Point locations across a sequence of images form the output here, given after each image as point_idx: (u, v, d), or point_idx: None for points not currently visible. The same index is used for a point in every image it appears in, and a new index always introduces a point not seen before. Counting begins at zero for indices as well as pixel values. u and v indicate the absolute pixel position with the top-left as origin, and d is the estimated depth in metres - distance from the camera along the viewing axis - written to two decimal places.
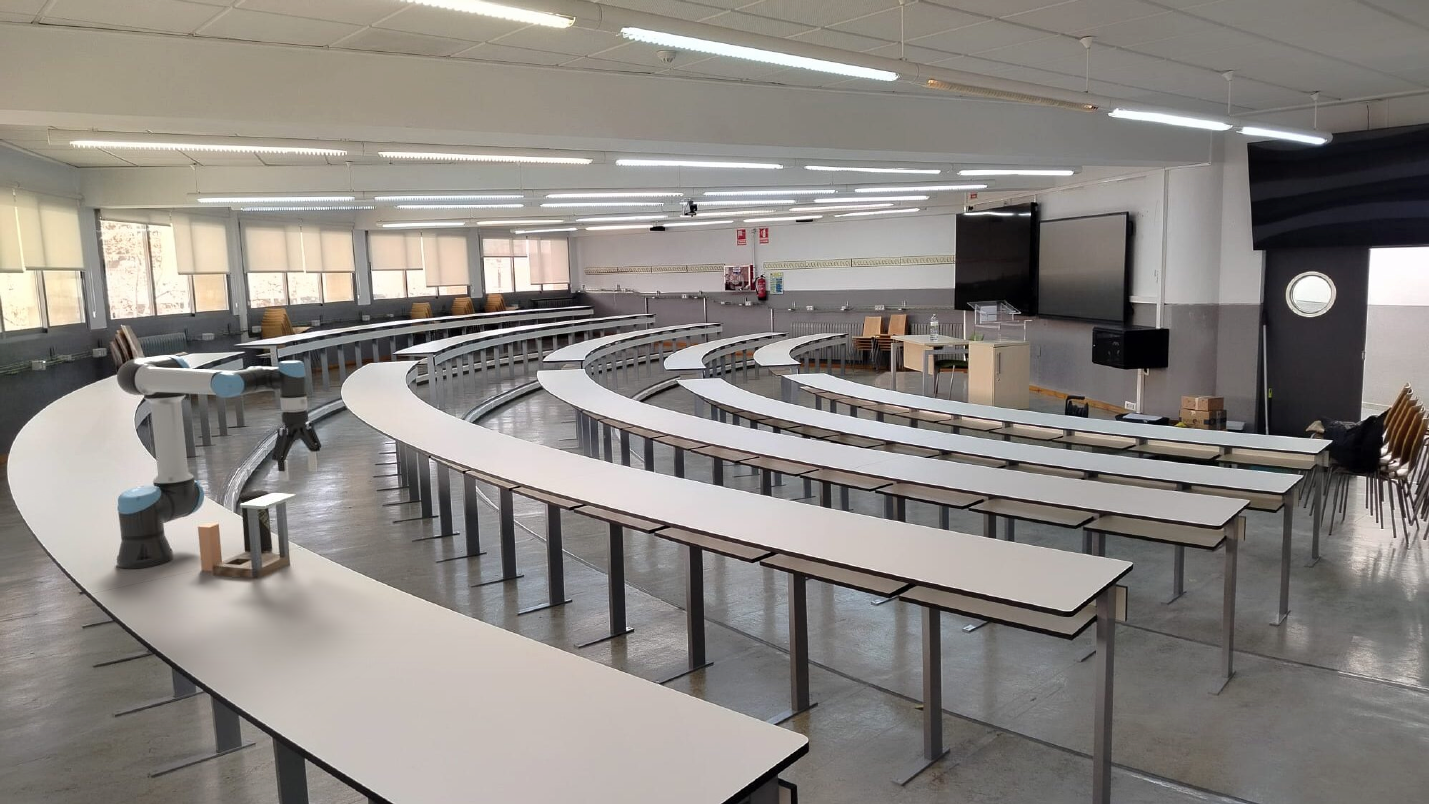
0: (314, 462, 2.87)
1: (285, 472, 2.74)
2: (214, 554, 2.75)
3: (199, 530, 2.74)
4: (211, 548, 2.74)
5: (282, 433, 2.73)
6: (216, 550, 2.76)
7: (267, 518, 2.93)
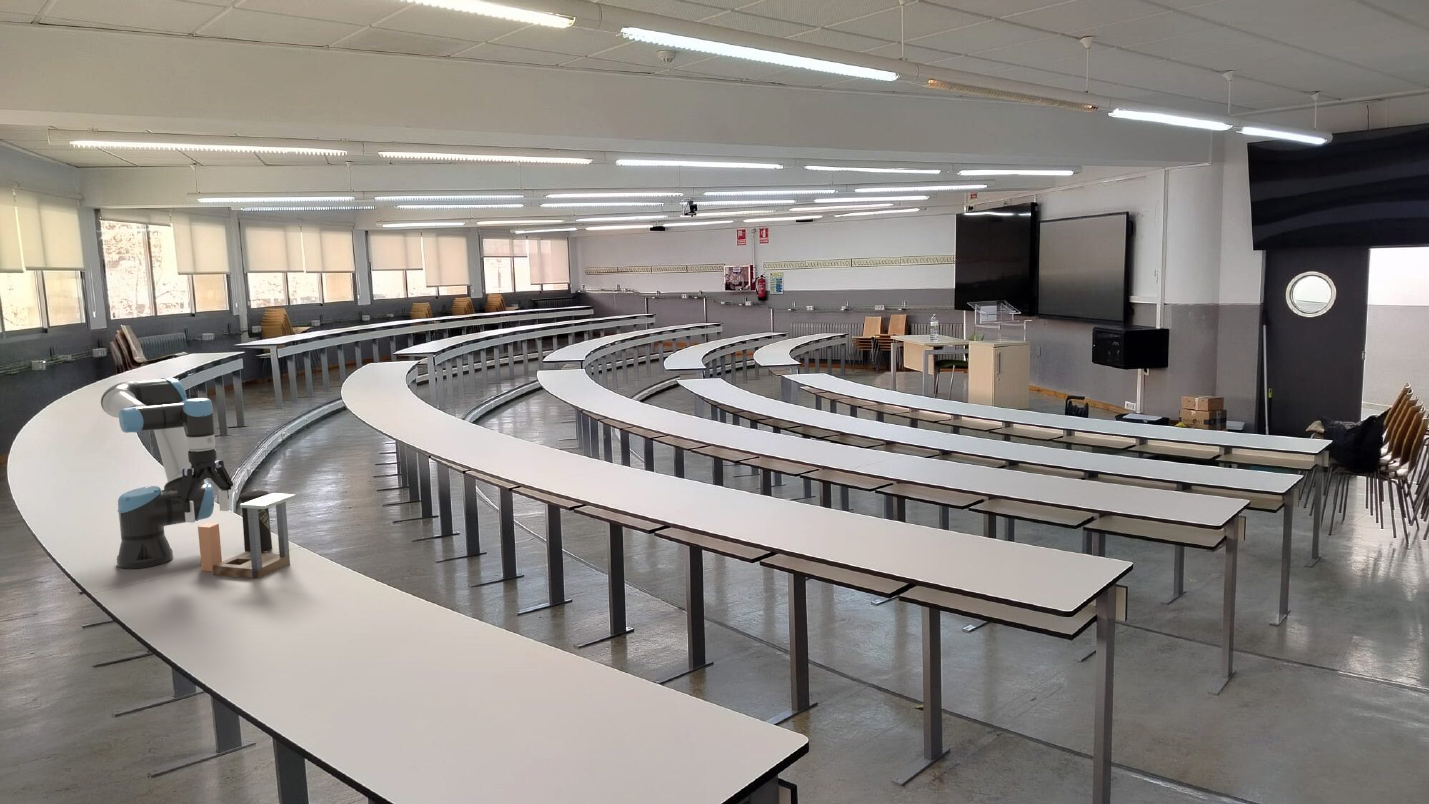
0: (225, 501, 2.80)
1: (191, 513, 2.67)
2: (214, 554, 2.75)
3: (199, 530, 2.74)
4: (211, 548, 2.74)
5: (187, 473, 2.66)
6: (216, 550, 2.76)
7: (267, 518, 2.93)
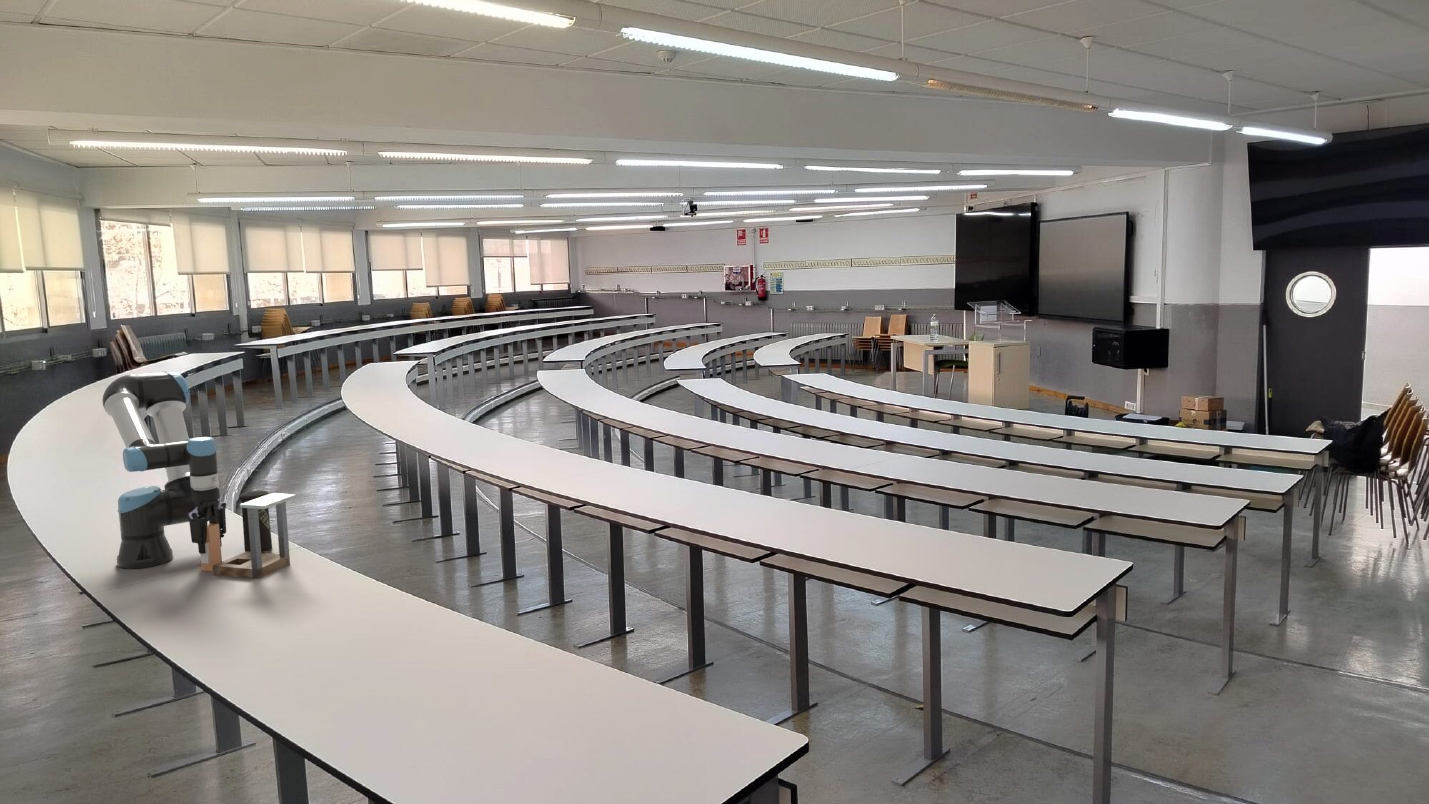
0: None
1: (206, 554, 2.74)
2: (214, 554, 2.75)
3: None
4: (211, 548, 2.74)
5: (192, 518, 2.69)
6: (216, 550, 2.76)
7: (267, 518, 2.93)
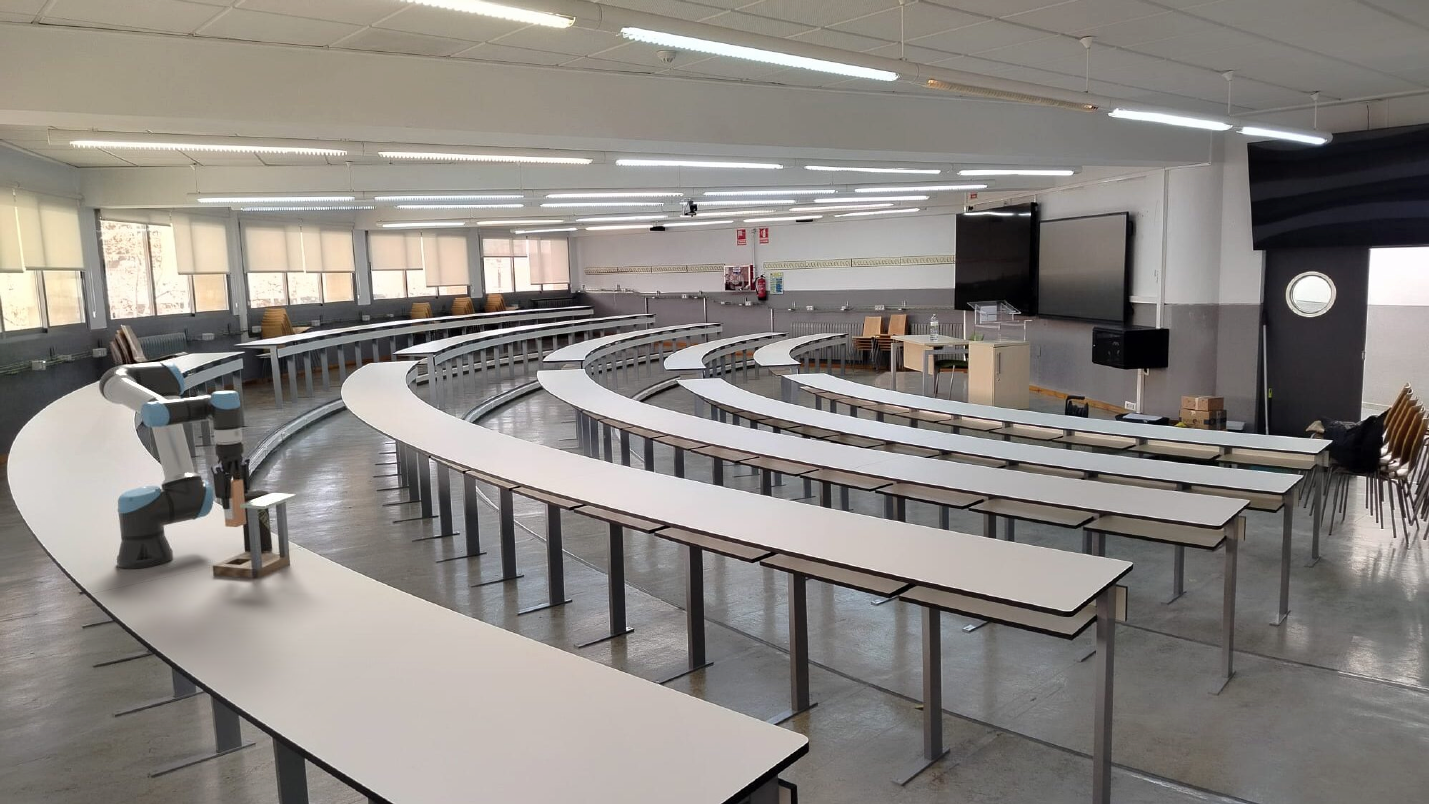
0: None
1: (230, 510, 2.69)
2: (238, 510, 2.71)
3: None
4: (235, 503, 2.70)
5: (217, 472, 2.64)
6: None
7: (267, 518, 2.93)
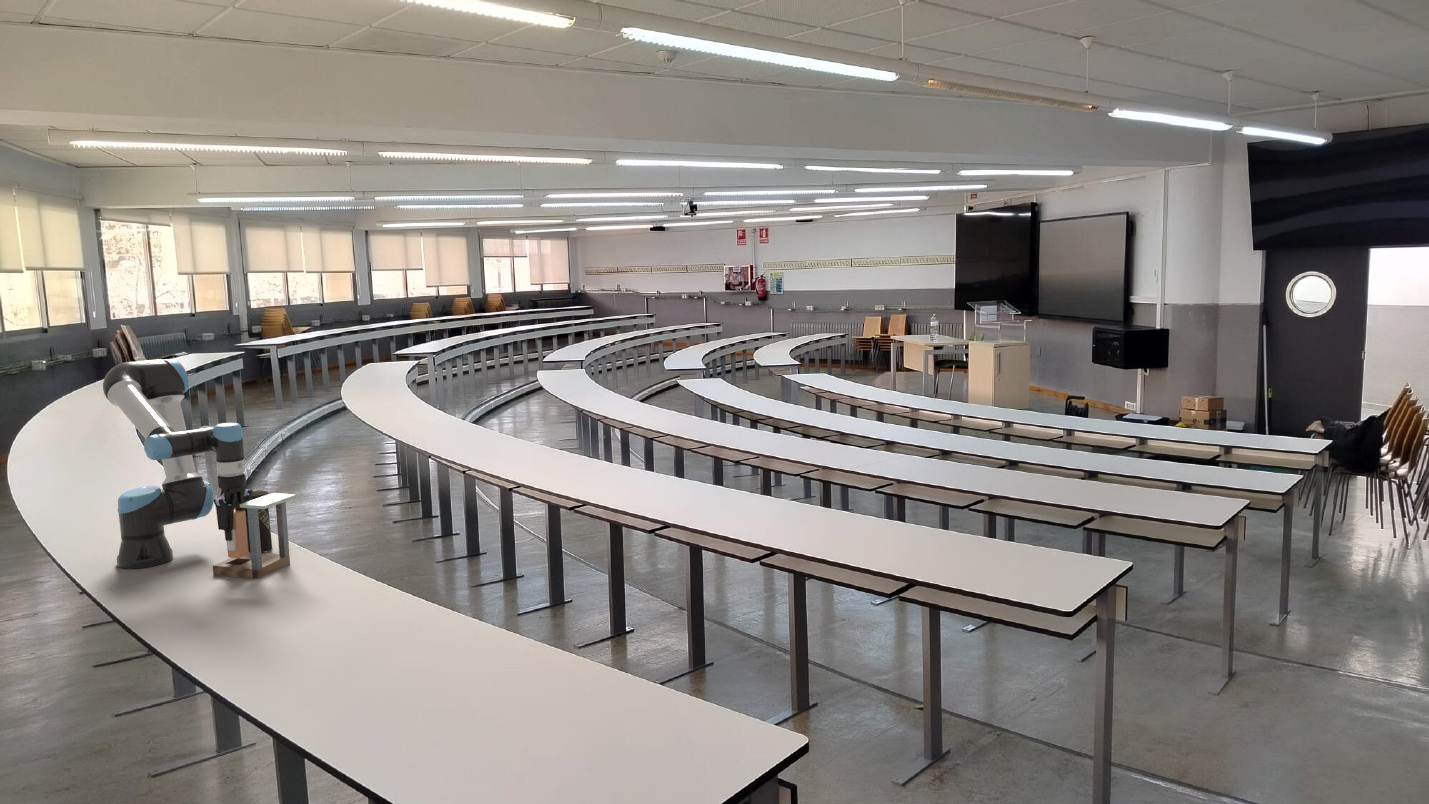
0: None
1: (232, 541, 2.71)
2: (240, 541, 2.72)
3: None
4: (238, 535, 2.71)
5: (219, 504, 2.66)
6: (243, 537, 2.73)
7: (267, 518, 2.93)
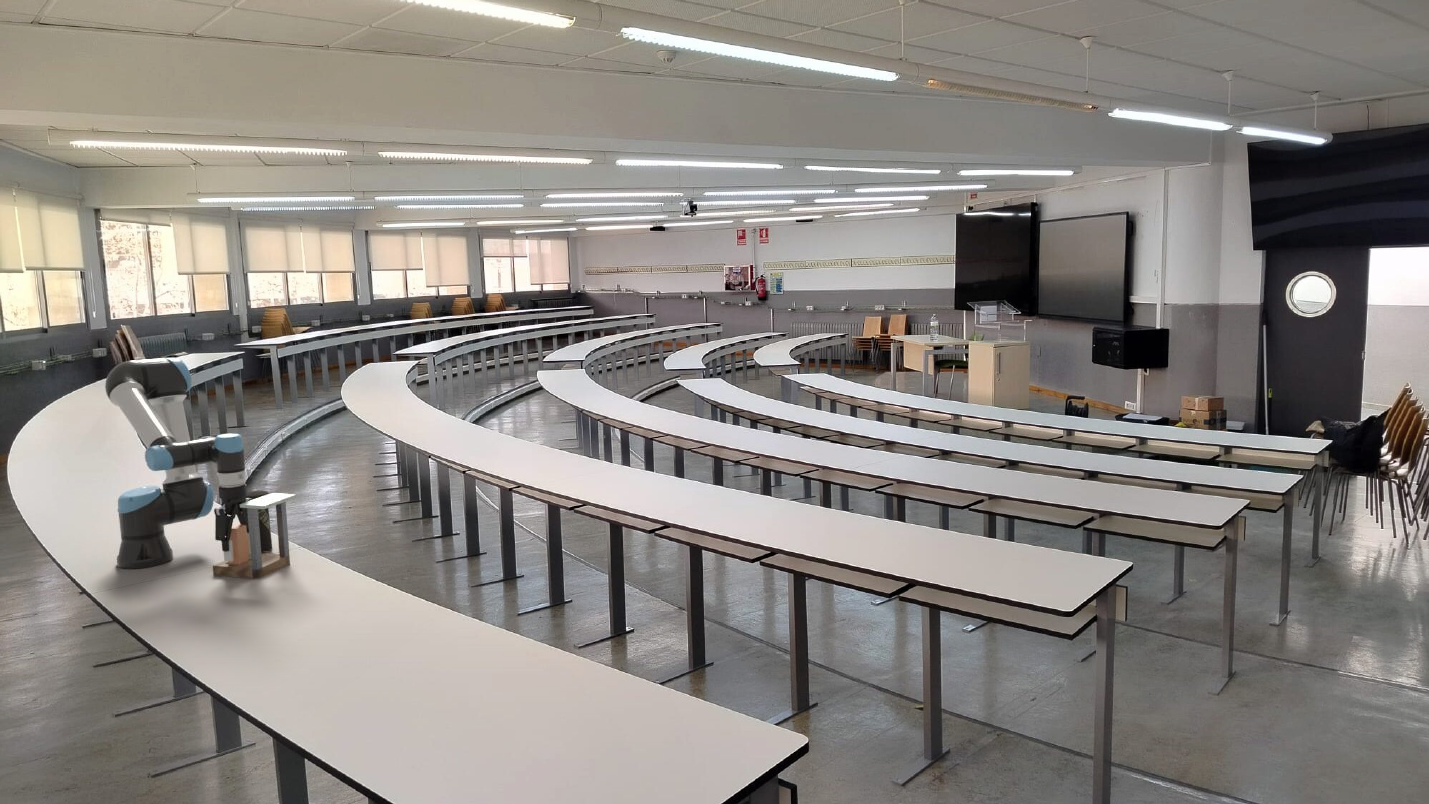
0: (248, 544, 2.77)
1: (229, 552, 2.70)
2: (241, 556, 2.73)
3: None
4: (239, 549, 2.72)
5: (219, 514, 2.66)
6: (244, 551, 2.74)
7: (267, 518, 2.93)
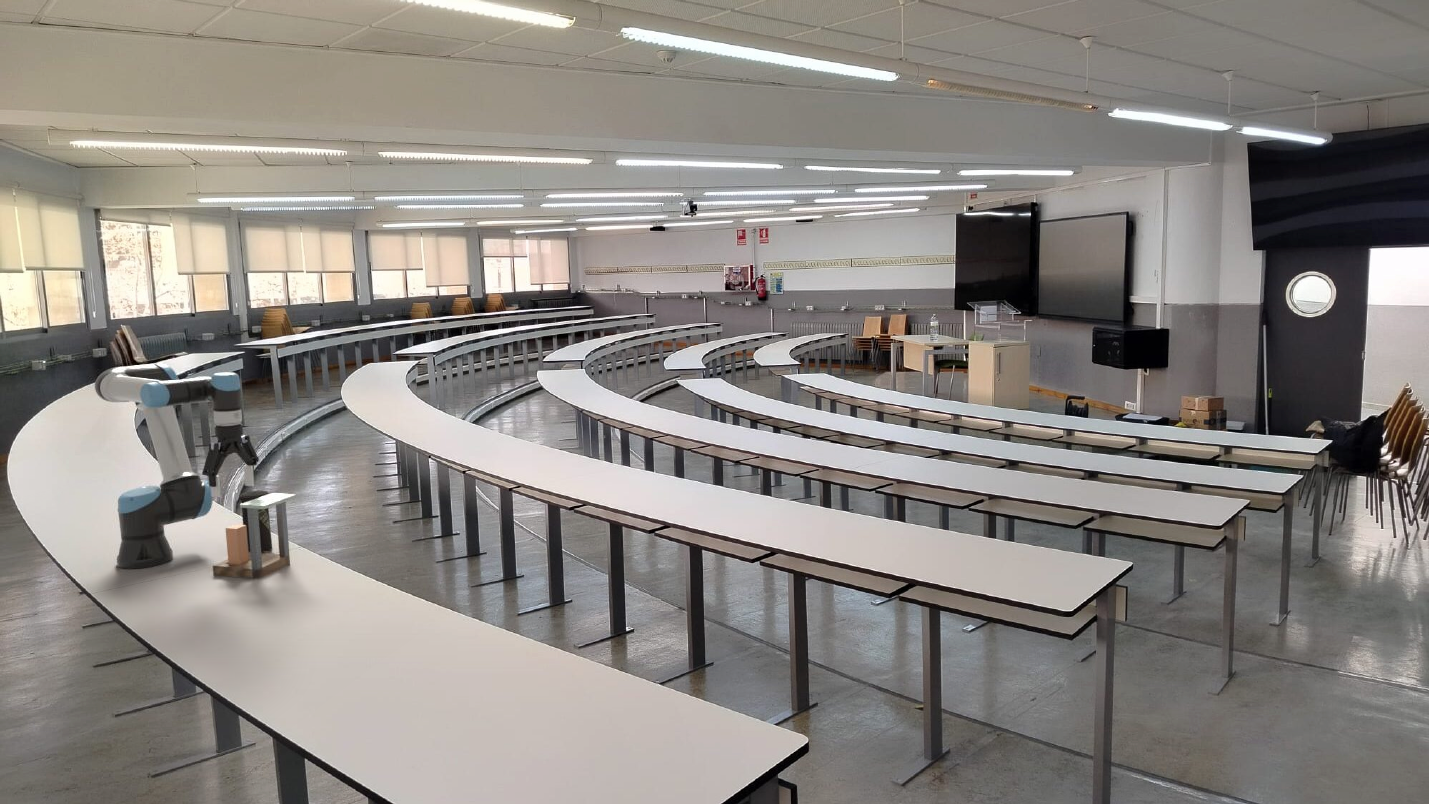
0: (250, 476, 2.79)
1: (217, 488, 2.66)
2: (241, 556, 2.73)
3: (226, 532, 2.72)
4: (239, 549, 2.72)
5: (213, 448, 2.65)
6: (244, 551, 2.74)
7: (267, 518, 2.93)
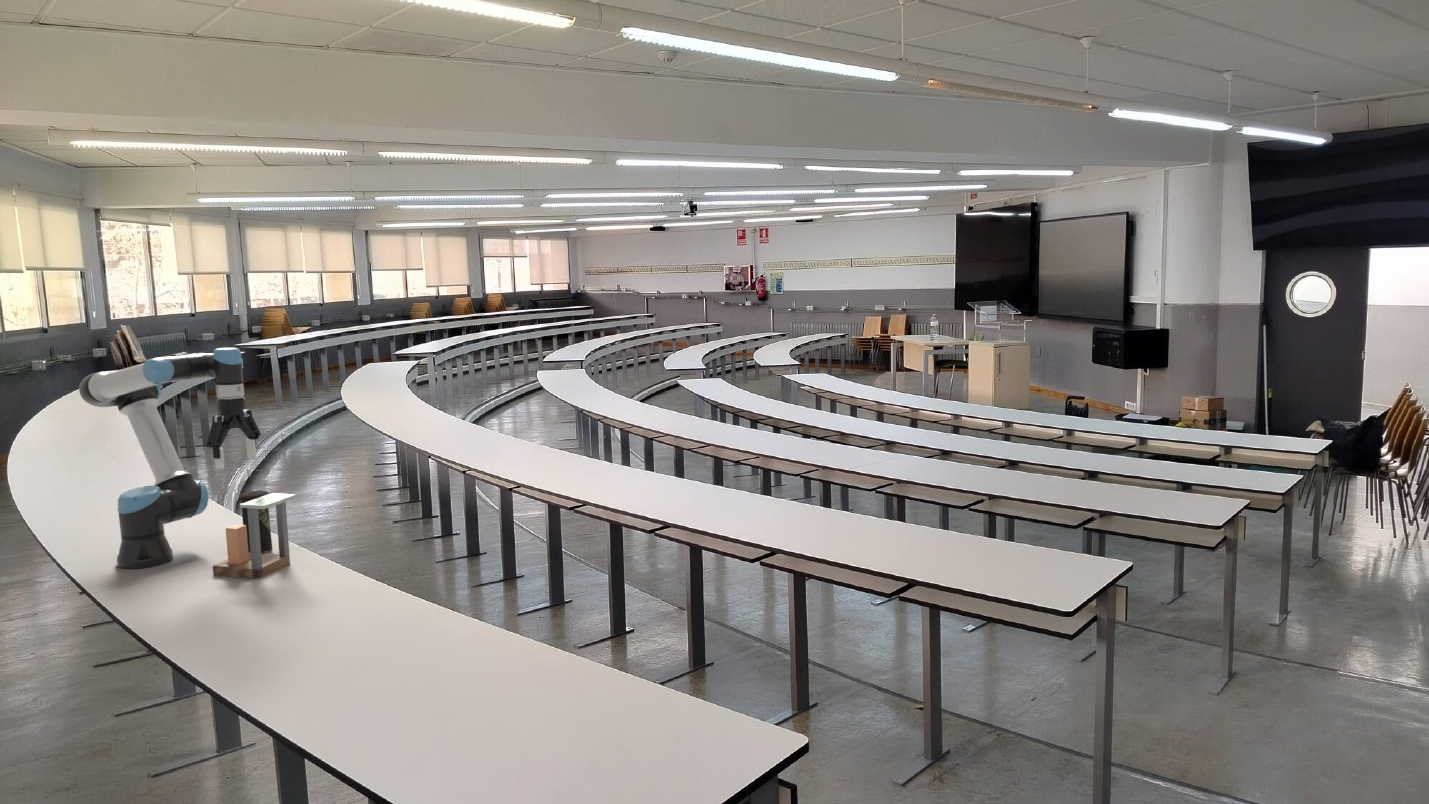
0: (253, 450, 2.86)
1: (220, 459, 2.73)
2: (241, 556, 2.73)
3: (226, 532, 2.72)
4: (239, 549, 2.72)
5: (217, 420, 2.71)
6: (244, 551, 2.74)
7: (267, 518, 2.93)
